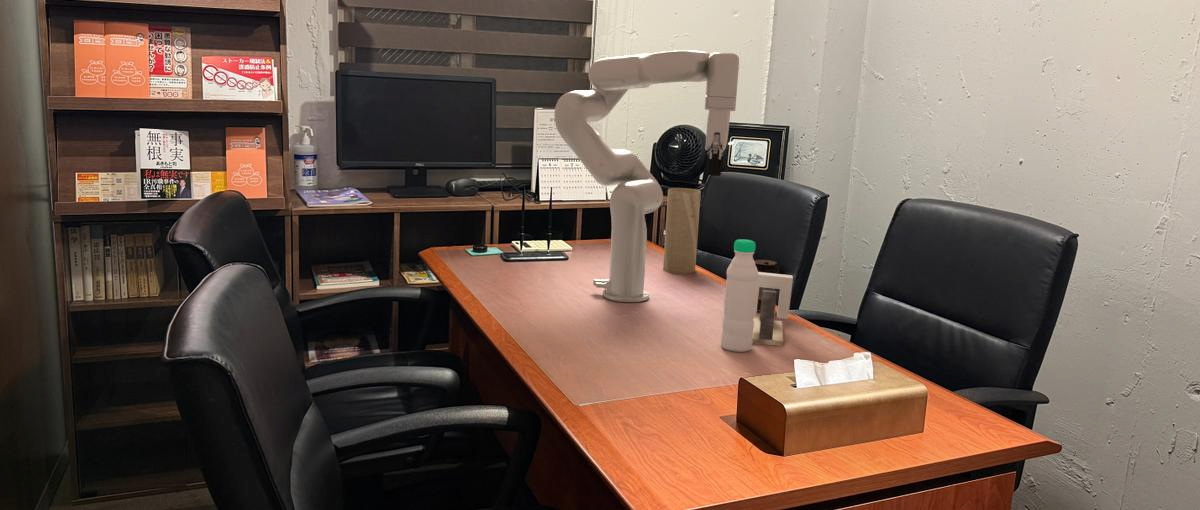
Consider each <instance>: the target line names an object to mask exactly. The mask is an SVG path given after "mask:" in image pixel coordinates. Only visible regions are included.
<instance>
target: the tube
mask: <svg viewBox="0 0 1200 510" xmlns="http://www.w3.org/2000/svg"><path fill="white" fill-rule="evenodd" d="M701 194H702V191H701V190H699V189H696V188H695V189H694V188H687V187H685V188H684V187H672V188H671V187H670V188H668V189H667V201H666V202H667V203H666V204H667V205H666V216H665V217H666V218H665V219H666V220H665V234H664V249H663V250H664V251H663V263H662V265H663V267H662V269H663V271H665V272H668V273H671V274H683V275H685V274H693V273H694V272H696V264H697V250H698V235H699V221H700V208H701V207H700V206H701V198H702V197H701Z"/></svg>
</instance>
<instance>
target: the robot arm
mask: <svg viewBox="0 0 1200 510" xmlns="http://www.w3.org/2000/svg"><path fill="white" fill-rule="evenodd" d="M739 67H740V58H739V56H738V54H735V53H729V52H713V53H712V52H711V53H710V52H707V51H699V50H692V49H691V50H690V49H683V50H670V51H660V52H654V53H653V52H652V53H641V54H634V55H624V56H623V55H622V56H613V57H605V58H600V59H598V60H595V61H594V62H593V63H592V64H591V65H590V67H589V69H588V74H587V75H588V80H589V82H590V84H591V85H592V86H593V88H591V89H590V90H572V91H568V92H566V93H564V94H562V95H561V96H560V97H559V99H558V100H557V103H556V105H555V109H554V124H555V127H556V129H557V132H558V133H559V135H560V137H561V138H562V139H563V141H564V143H566V144H567V146H568V147H569V148H570V149H571V150H572V152H573V153H574V154H575V155H576V157H577V158H578V159H579V161H580V163H581V164H582V165H583V166H584V168H586V170H587V172H589V174H590V175H591V176H592V178H593V179H594V180H595V182H597V184H599V185H601V186H604V187H605V186H606V187H608V186H609V187H612V186H616V185H617V186H616V187H615V188H614V189H613V190H612V192H611V194H610V198H609V209H610V217H611V233H610V234H611V235H610V236H611V237H610V256H609V257H610V260H609V275H608V276H609V277H608V278H605V279H601V278H600V279H598V278H594V279H593V283H592V285H593V286H594V287H595V288H598V289H601V288H602V289H604V290H602V296H603V297H604V298H605V299H607V300H610V301H614V302H619V303H638V302H640V303H641V302H644V301H647V300H648V299H649V298H650V293H649V291H647V290H645V289H644V288H645V287H644V286H645V285H644V284H645V275H646V274H645V273H646V272H645V271H646V270H645V269H646V259H647V258H646V256H647V254H646V253H647V239H648V238H647V237H648V236H647V235H648V234H647V233H648V232H647V231H648V229H647V223H646V217H645V215H647V214H650V213H653V212H655V211H657V210H658V209H659V208H660V207H661V206H662V203H663V200H664V192H663V190H662V187H661V186H660V184H659V182H658V180H657V179H656V178H655V177H654V176H653V174H652V173H651V172H650V171H649V170H648V168H647V167H646V166H645V165H644V163H643V162H642V161H641V159H639V157H638V156H637V155H636V154H635V153H633V151H630V150H627V149H622V148H617V149H615V148H612V147H611V146H610V145H609V144H608V143H607V142H606V140H605V139H604V138H603V137H602V135H601V134H600V132H598V131H597V130H596V129H594V128H593V127H592V126H591V125H590V122H598V121H601V120H603V119H605V118H606V117H607V116H608V115H609V114H610V113H611V111H612V110H613V109H614V108H615V106H617V104H618V103H619V102H620V101H621V99H622V98H623V97H624V96H625V94H627V92H628V91H629V90H632V89H633V90H634V89H645V88H649V87H650V86H652V85H657V84H669V83H680V82H681V83H682V82H684V83H685V82H687V83H688V82H689V83H690V82H692V83H694V82H695V83H697V82H698V83H701V82H706V88H705V100H704V101H705V102H704V103H705V104H704V110H706V111H707V110H708V115H707V122H706V123H707V124H706V133H705V134H706V135H705V145H704V149H705V151H708V150H709V149H710V151H709V158H708V163H707V165H708V166H707V175H708V176H715V177H720V176H721V175H722V172H723V171H724V170H723V169H724V168H723V167H724V160H725V159H724V151H725V150H726V148H727V143H728V137H729V131H730V119H731V112H736V107H737V95H738V94H737V93H738V82H739ZM588 122H589V123H588Z"/></svg>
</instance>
